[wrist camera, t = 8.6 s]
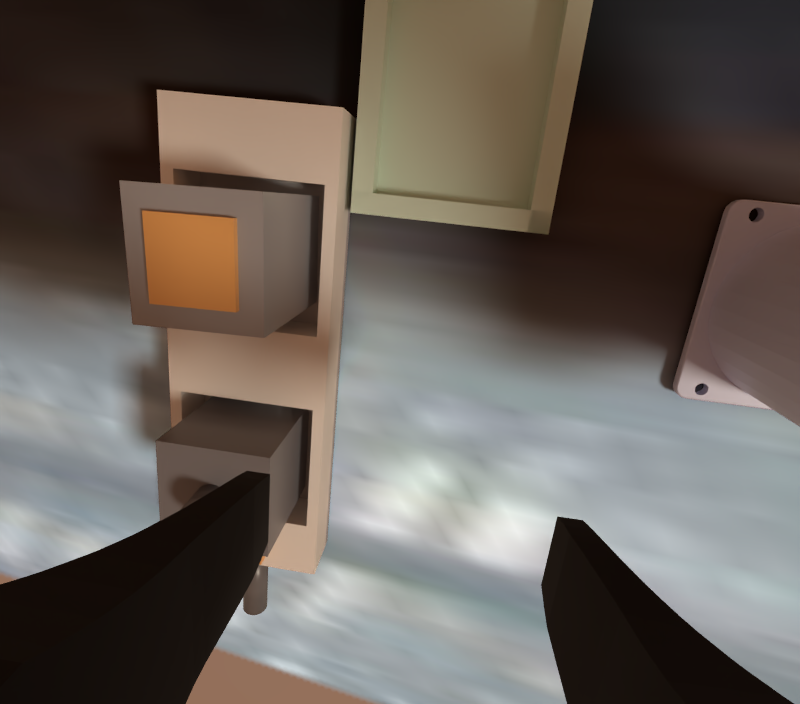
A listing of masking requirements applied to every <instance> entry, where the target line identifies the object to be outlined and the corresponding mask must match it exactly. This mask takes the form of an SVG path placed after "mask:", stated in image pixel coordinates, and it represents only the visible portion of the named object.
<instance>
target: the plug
mask: <svg viewBox="0 0 800 704" xmlns="http://www.w3.org/2000/svg"><path fill="white" fill-rule="evenodd" d="M119 183H120V193H121V204H122V215H123V226H124V237H125V247H126V258H127V269H128V280H129V291H130V301H131V312H132V323H133V324H135V325H145V326H154V327H164V328H173V329H183V330H192V331H202V332H211V333H221V334H230V335H240V336H249V337H259V338H265V337H267V336H268V335H270V334H271V333H272V332H274V331H275V330H277V329H278V328H280V327H281V326H283V325H284V324H286V323H287V322H288V321H290V320H291V319H293V318H294V317H296V316H297V315H299V314H300V313H301V312H303V311H304V310H306V309H307V308H309V307H310V306H312V305H313V304H315V303H316V302H317V261H318V220H319V196H313V195H300V194H288V193H275V192H262V191H250V190H237V189H225V188H212V187H199V186H186V185H174V184H161V183H148V182H135V181H123V180H119Z"/></svg>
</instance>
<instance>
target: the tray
mask: <svg viewBox="0 0 800 704" xmlns="http://www.w3.org/2000/svg"><path fill="white" fill-rule="evenodd" d="M592 5H593V0H365V11H364V25H363V39H362V54H361V68H360V82H359V97H358V111H357V125H356V139H355V154H354V168H353V182H352V196H351V211H350V212H351V213H360V214H369V215H378V216H387V217H395V218H404V219H413V220H422V221H431V222H440V223H449V224H458V225H467V226H476V227H485V228H494V229H503V230H512V231H521V232H530V233H539V234H549V229H550V224H551V218H552V213H553V208H554V203H555V198H556V192H557V187H558V182H559V177H560V171H561V166H562V161H563V156H564V151H565V145H566V140H567V135H568V130H569V124H570V119H571V114H572V109H573V104H574V98H575V93H576V88H577V83H578V78H579V72H580V67H581V62H582V57H583V51H584V46H585V41H586V36H587V31H588V25H589V20H590V15H591V10H592Z"/></svg>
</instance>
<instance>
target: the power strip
mask: <svg viewBox="0 0 800 704" xmlns="http://www.w3.org/2000/svg"><path fill="white" fill-rule="evenodd" d="M157 105H158V128H159V151H160V174H161V184H174V185H186V186H199V187H212V188H225V189H237V190H250V191H262V192H275V193H288V194H300V195H313V196H319V220H318V261H317V302H316V303H315V304H313V305H312V306H310V307H309V308H307V309H306V310H304V311H303V312H301V313H300V314H299V315H297V316H296V317H294V318H293V319H291V320H290V321H288V322H287V323H286V324H284V325H283V326H281V327H280V328H278V329H277V330H275V331H274V332H272V333H271V334H270V335H268V336H267V337H265V338H259V337H249V336H240V335H230V334H221V333H211V332H202V331H192V330H183V329H173V328H167V337H168V360H169V383H170V406H171V428H173V427H174V426H175V425H177V424H178V423H179V422H180V421H182V420H183V419H184V418H185V417H187V416H188V415H189V414H191V413H192V412H193V411H194V410H196V409H197V408H198V407H200V406H201V405H202V404H203V403H205V402H206V401H207V400H209V399H210V398H211V397H212V396H216V397H223V398H230V399H237V400H244V401H251V402H258V403H265V404H272V405H279V406H286V407H293V408H300V409H307V410H309V423H308V443H307V462H306V482H305V488H304V490H303V492H302V493H301V495H300V497H299V499H298V501H297V503H296V505H295V507H294V508H293V510H292V512H291V514H290V516H289V518H288V520H287V521H286V523H285V525H284V527H283V529H282V531H281V533H280V535H279V536H278V538H277V540H276V542H275V544H274V546H273V548H272V549H271V551H270V553H269V555H268V557H265V556H262V559H261V561H260V564H259V566H258V568H257V571H256V573H255V575H254V578H253V580H252V582H251V583H250V585H249V587H248V589H247V591H246V592H245V594H244V596H243V609H244V611H245V612H246V613H247V614H249V615H257V614H260V613H262V612H263V611H264V610H265V609H266V607H267V587H268V567H274V568H280V569H286V570H292V571H298V572H304V573H310V574H315V571H316V569H317V566H318V563H319V561H320V558H321V556H322V553H323V550H324V548H325V545H326V543H327V537H328V523H329V508H330V494H331V480H332V465H333V451H334V437H335V423H336V408H337V394H338V380H339V365H340V351H341V337H342V323H343V308H344V294H345V280H346V265H347V251H348V237H349V222H350V208H351V194H352V180H353V165H354V151H355V137H356V122H357V119H356V118H355V117H353V116H352V115H351V114H350V113H349V112H348V111H347V110H346V109H344V108H343V107H334V106H323V105H313V104H302V103H292V102H281V101H271V100H260V99H250V98H239V97H229V96H218V95H208V94H197V93H187V92H176V91H166V90H157Z"/></svg>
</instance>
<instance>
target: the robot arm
mask: <svg viewBox="0 0 800 704" xmlns="http://www.w3.org/2000/svg"><path fill="white" fill-rule="evenodd" d="M754 208H755V209H756V210H757V211H758V216H757V217H756V219H755V220H753V221H750V219H749V213H750V212H751V210H753V209H754ZM701 383H704V387H703V388H702V390H700V391H698V392H695V387H696V386H697V385H698V384H701ZM673 389H674V391H675V392H676V393H677V394H678V395H679V396H680V397H683V398H687V399H694V400H702V401H709V402H717V403H724V404H732V405H739V406H747V407H754V408H762V409H769V410H774V411H776V412H777V413H779V414H781V415H782V416H784V417H785V418H787V419H788V420H790V421H792V422H793V423H795V424H796V425H798V426H799V427H800V205H794V204H785V203H775V202H765V201H756V200H735V201H733V202H731V203H730V204H729V205H727V206H726V208H725V210H724V212H723V215H722V219H721V222H720V226H719V229H718V232H717V236H716V239H715V243H714V246H713V249H712V253H711V256H710V260H709V263H708V266H707V270H706V273H705V277H704V280H703V283H702V287H701V290H700V294H699V297H698V300H697V304H696V307H695V311H694V314H693V317H692V321H691V324H690V328H689V331H688V334H687V338H686V341H685V345H684V348H683V351H682V355H681V358H680V362H679V365H678V368H677V372H676V375H675V378H674V382H673ZM269 498H270V474H266V473H259V472H253V471H245V472H244V473H242V474H240V475H238V476H236V477H235V478H233V479H231V480H230V481H228V482H226V483H225V484H223V485H222V486H220V487H218V488H217V489H215V490H213V491H212V492H210V493H208V494H207V495H205V496H203V497H202V498H200V499H198V500H197V501H195V502H193V503H192V504H190V505H188V506H187V507H185V508H183V509H181V510H179V511H178V512H176V513H174V514H172V515H170V516H168V517H166V518H165V519H163V520H161V521H159V522H157V523H155V524H153V525H152V526H150V527H148V528H146V529H144V530H142V531H140V532H138V533H136V534H134V535H132V536H130V537H127V538H125V539H123V540H121V541H119V542H116V543H114V544H112V545H110V546H107V547H105V548H103V549H100V550H98V551H96V552H93V553H91V554H88V555H85V556H83V557H80V558H77V559H75V560H72V561H69V562H66V563H64V564H61V565H58V566H56V567H53V568H50V569H48V570H45V571H42V572H39V573H36V574H33V575H30V576H27V577H23V578H20V579H17V580H14V581H11V582H7V583H4V584H0V704H186V702H187V699H188V697H189V695H190V693H191V690H192V688H193V686H194V684H195V682H196V680H197V678H198V676H199V674H200V672H201V671H202V669H203V667H204V665H205V663H206V661H207V659H208V658H209V656H210V654H211V652H212V651H213V649H214V647H215V645H216V644H217V642H218V640H219V638H220V637H221V635H222V633H223V631H224V630H225V628H226V626H227V624H228V623H229V621H230V619H231V617H232V616H233V614H234V612H235V610H236V609H237V607H238V605H239V603H240V601H241V600H242V598H243V596H244V594H245V592H246V591H247V589H248V587H249V585H250V583H251V582H252V580H253V578H254V575H255V573H256V571H257V568H258V566H259V564H260V561H261V559H262V556H263V554H264V551H265V549H266V546H267V544H268V534H269ZM541 586H542V594H543V602H544V609H545V616H546V623H547V628H548V632H549V636H550V640H551V644H552V648H553V652H554V656H555V660H556V664H557V667H558V671H559V675H560V678H561V682H562V686H563V690H564V693H565V697H566V701H567V704H794V703H792V702H791V701H789V700H788V699H786V698H785V697H783V696H782V695H780V694H779V693H778V692H776V691H775V690H773V689H772V688H771V687H769V686H768V685H766V684H765V683H764V682H762V681H761V680H759V679H758V678H756V677H755V676H754V675H752V674H751V673H749V672H748V671H747V670H745V669H744V668H743V667H741V666H740V665H739V664H737V663H736V662H735V661H733V660H732V659H731V658H730V657H728V656H727V655H726V654H724V653H723V652H722V651H721V650H719V649H718V648H717V647H716V646H715V645H713V644H712V643H711V642H710V641H708V640H707V639H706V638H705V637H703V636H702V635H701V634H700V633H698V632H697V631H696V630H695V629H694V628H693V627H691V626H690V625H689V624H688V623H687V622H686V621H684V620H683V619H682V618H681V617H680V616H679V615H678V614H677V613H676V612H674V611H673V610H672V609H671V608H670V607H669V606H668V605H667V604H666V603H665V602H664V601H662V600H661V599H660V598H659V597H658V596H657V595H656V594H655V593H654V592H653V591H652V590H651V589H650V588H649V587H648V586H647V585H646V584H645V583H644V582H643V581H642V580H641V579H640V578H639V577H638V576H637V575H636V574H635V573H634V572H633V571H632V570H631V569H630V568H629V567H628V566H627V565H626V564H625V563H624V562H623V561H622V560H621V559H620V558H619V557H618V556H617V555H616V554H615V553H614V552H613V551H612V550H611V549H610V548H609V546H608V545H607V544H606V543H605V542H604V541H603V540H602V539H601V538H600V537H599V536H598V535H597V534H596V533H595V532H594V531H593V530H592V529H591V528H590V527H589V526H588V525H587V524H586V523H585V522H584V521H583V520H577V519H570V518H563V517H557V521H556V525H555V529H554V534H553V538H552V542H551V546H550V550H549V555H548V559H547V563H546V567H545V572H544V576H543V580H542V584H541Z"/></svg>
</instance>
